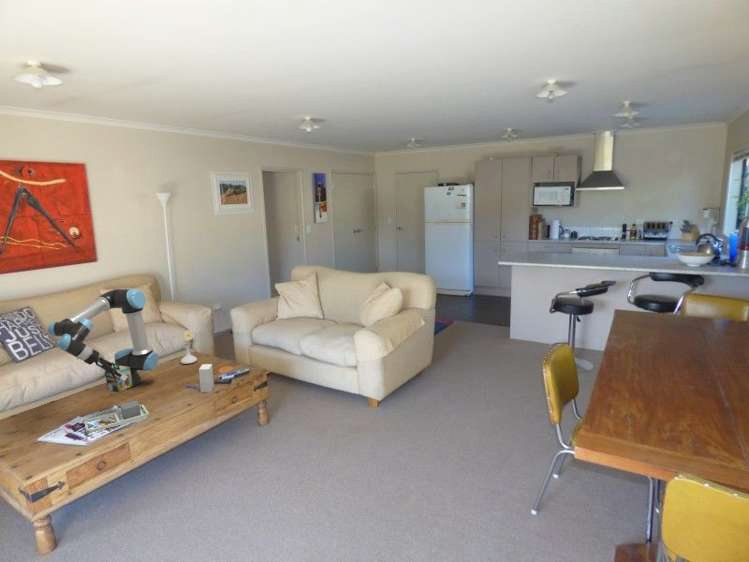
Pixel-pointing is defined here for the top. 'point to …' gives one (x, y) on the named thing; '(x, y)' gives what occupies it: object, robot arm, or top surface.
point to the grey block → (130, 410)
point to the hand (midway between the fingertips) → (123, 375)
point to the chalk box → (118, 379)
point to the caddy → (143, 416)
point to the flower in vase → (188, 357)
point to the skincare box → (206, 378)
